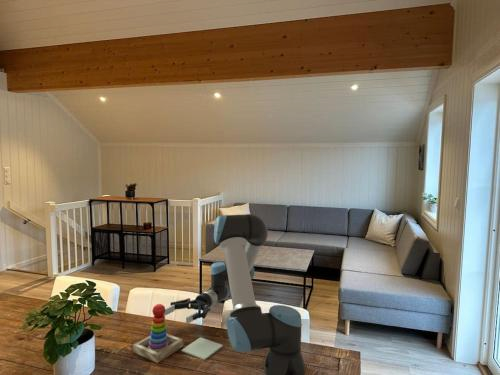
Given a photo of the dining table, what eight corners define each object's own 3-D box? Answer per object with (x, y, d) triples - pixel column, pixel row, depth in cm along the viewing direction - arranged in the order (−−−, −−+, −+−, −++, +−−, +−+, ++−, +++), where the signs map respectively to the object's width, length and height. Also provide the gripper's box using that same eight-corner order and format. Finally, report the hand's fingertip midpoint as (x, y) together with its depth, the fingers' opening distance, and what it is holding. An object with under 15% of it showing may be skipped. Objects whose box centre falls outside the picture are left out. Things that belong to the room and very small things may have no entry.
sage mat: (222, 346, 143) (222, 345, 143) (204, 360, 133) (204, 358, 133) (200, 338, 150) (200, 337, 150) (181, 351, 140) (181, 349, 139)
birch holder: (182, 346, 143) (182, 339, 143) (157, 362, 131) (157, 355, 131) (159, 337, 150) (158, 330, 150) (132, 352, 139) (132, 344, 138)
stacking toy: (163, 355, 136) (162, 309, 135) (144, 353, 138) (143, 307, 136) (171, 345, 144) (171, 301, 143) (153, 343, 146) (153, 300, 144)
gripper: (227, 313, 160) (197, 332, 142) (186, 302, 173) (154, 318, 155) (227, 298, 159) (197, 315, 142) (186, 287, 173) (154, 301, 155)
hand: (174, 316), depth 148 cm, fingers open, 13 cm apart
